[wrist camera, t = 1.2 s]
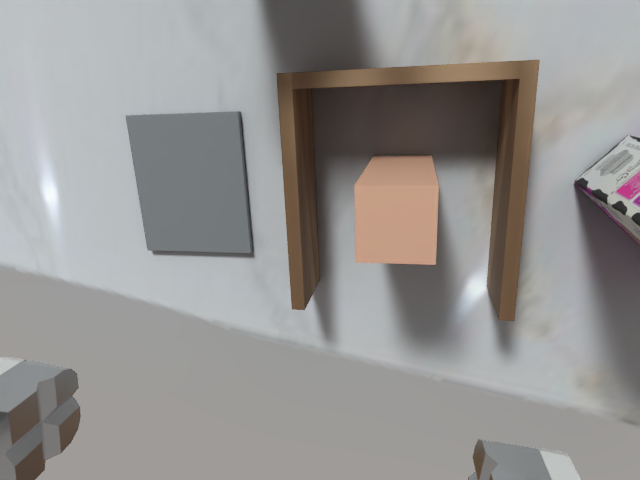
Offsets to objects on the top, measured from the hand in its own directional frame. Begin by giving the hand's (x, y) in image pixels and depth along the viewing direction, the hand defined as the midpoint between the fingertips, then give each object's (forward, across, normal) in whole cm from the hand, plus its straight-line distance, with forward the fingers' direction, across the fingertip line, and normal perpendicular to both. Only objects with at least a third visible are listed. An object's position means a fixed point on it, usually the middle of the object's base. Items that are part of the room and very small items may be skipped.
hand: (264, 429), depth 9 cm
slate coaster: (+30, +15, +1) cm, 34 cm away
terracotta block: (+30, -3, -1) cm, 30 cm away
